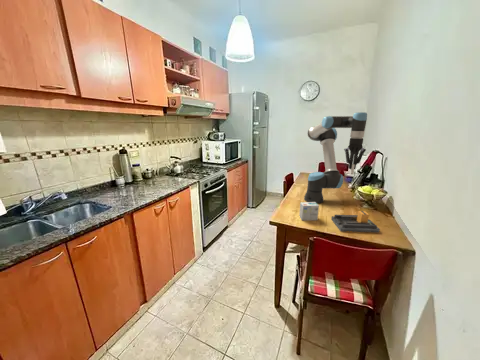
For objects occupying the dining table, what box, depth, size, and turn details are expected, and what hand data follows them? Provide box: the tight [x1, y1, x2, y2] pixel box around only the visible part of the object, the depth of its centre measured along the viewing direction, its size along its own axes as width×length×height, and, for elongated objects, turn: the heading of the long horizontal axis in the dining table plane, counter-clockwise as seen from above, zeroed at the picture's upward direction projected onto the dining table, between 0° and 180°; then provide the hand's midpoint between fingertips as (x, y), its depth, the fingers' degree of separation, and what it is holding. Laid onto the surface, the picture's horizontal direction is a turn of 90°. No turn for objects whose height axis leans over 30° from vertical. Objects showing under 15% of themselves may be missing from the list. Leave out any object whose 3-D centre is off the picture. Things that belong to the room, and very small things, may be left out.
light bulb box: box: [298, 201, 320, 221], centre depth 134 cm, size 11×7×11 cm, turn 92°
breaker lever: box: [357, 210, 370, 222], centre depth 124 cm, size 5×4×7 cm
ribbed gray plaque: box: [333, 214, 378, 228], centre depth 125 cm, size 14×20×2 cm
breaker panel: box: [331, 215, 381, 234], centre depth 125 cm, size 15×22×4 cm
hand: (351, 173), depth 135 cm, fingers closed
